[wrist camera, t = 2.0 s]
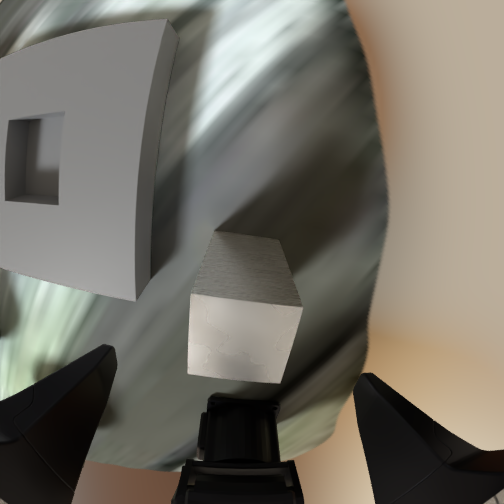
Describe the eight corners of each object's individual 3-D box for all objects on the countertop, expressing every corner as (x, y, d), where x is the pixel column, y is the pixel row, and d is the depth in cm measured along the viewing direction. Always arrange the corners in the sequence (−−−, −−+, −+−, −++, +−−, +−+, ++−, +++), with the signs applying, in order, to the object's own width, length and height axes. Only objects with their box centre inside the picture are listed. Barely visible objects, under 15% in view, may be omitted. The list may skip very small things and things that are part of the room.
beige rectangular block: (278, 239, 17) (303, 307, 10) (267, 296, 19) (280, 383, 11) (214, 230, 17) (190, 293, 9) (207, 288, 18) (187, 373, 11)
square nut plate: (179, 38, 13) (167, 18, 10) (150, 279, 18) (136, 301, 15) (8, 69, 11) (-14, 65, 9) (-1, 248, 17) (-22, 260, 14)
